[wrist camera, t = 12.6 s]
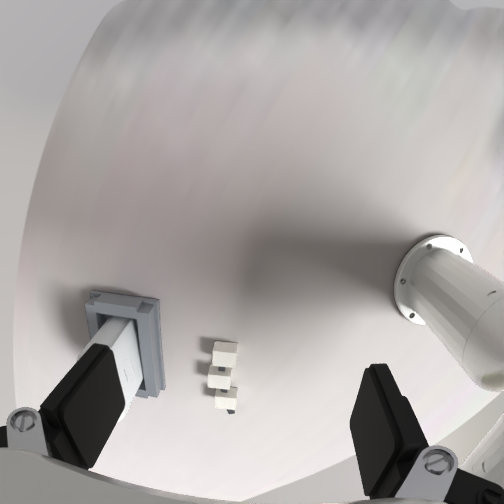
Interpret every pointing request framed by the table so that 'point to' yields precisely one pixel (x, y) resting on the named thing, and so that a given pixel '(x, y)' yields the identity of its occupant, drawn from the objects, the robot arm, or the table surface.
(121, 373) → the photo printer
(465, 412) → the table surface
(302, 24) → the table surface
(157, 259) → the table surface
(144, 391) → the end holder
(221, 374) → the white cube chain
